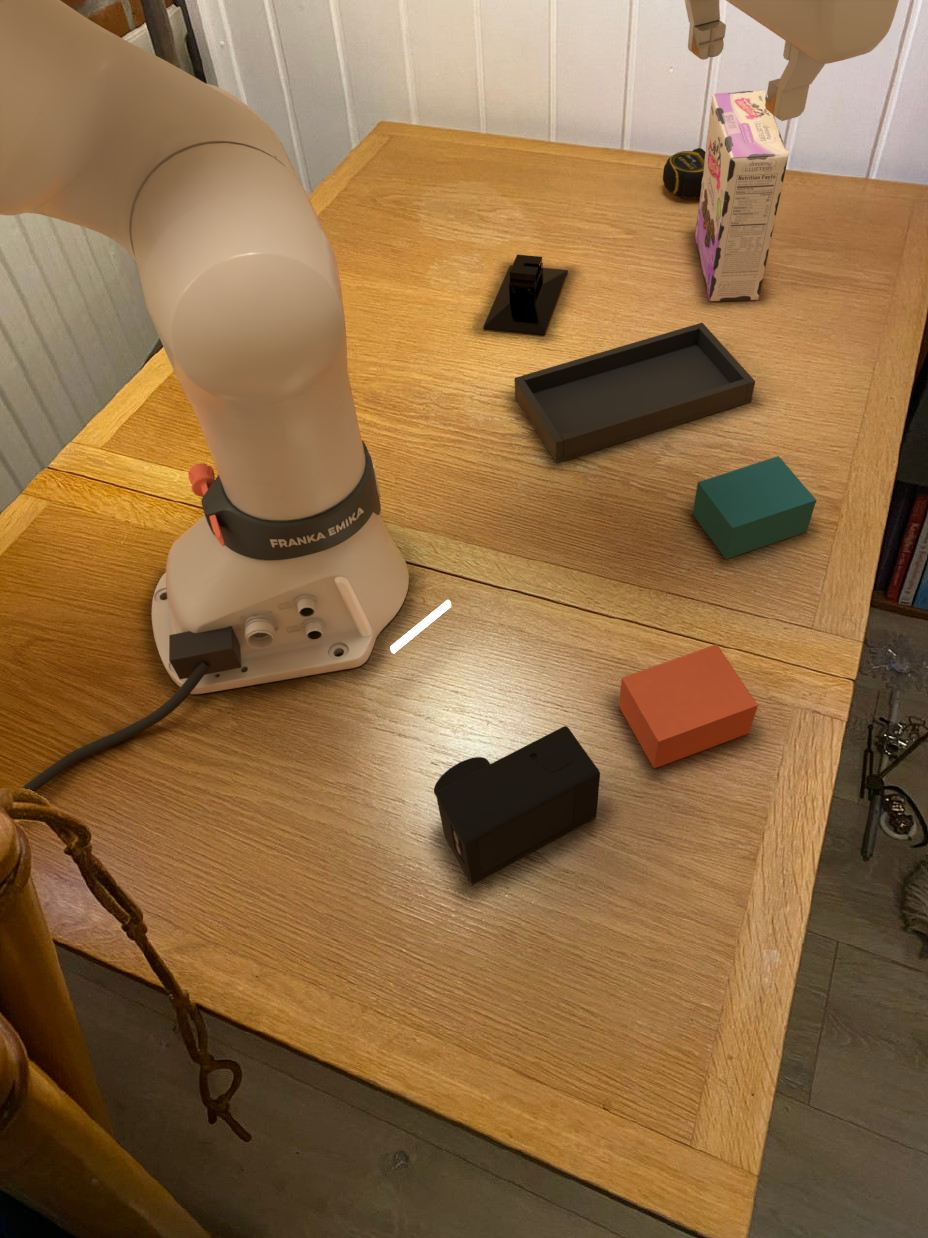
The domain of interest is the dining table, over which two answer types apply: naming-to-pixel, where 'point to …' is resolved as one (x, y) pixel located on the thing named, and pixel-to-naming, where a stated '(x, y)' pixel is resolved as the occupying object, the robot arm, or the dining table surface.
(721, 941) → the dining table surface
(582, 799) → the digital camera
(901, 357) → the dining table surface
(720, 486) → the teal block
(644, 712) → the orange rectangular block
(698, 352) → the dark brown tray
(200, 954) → the dining table surface
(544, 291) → the black flat based block
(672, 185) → the tape measure
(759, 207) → the candy box
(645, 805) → the dining table surface
